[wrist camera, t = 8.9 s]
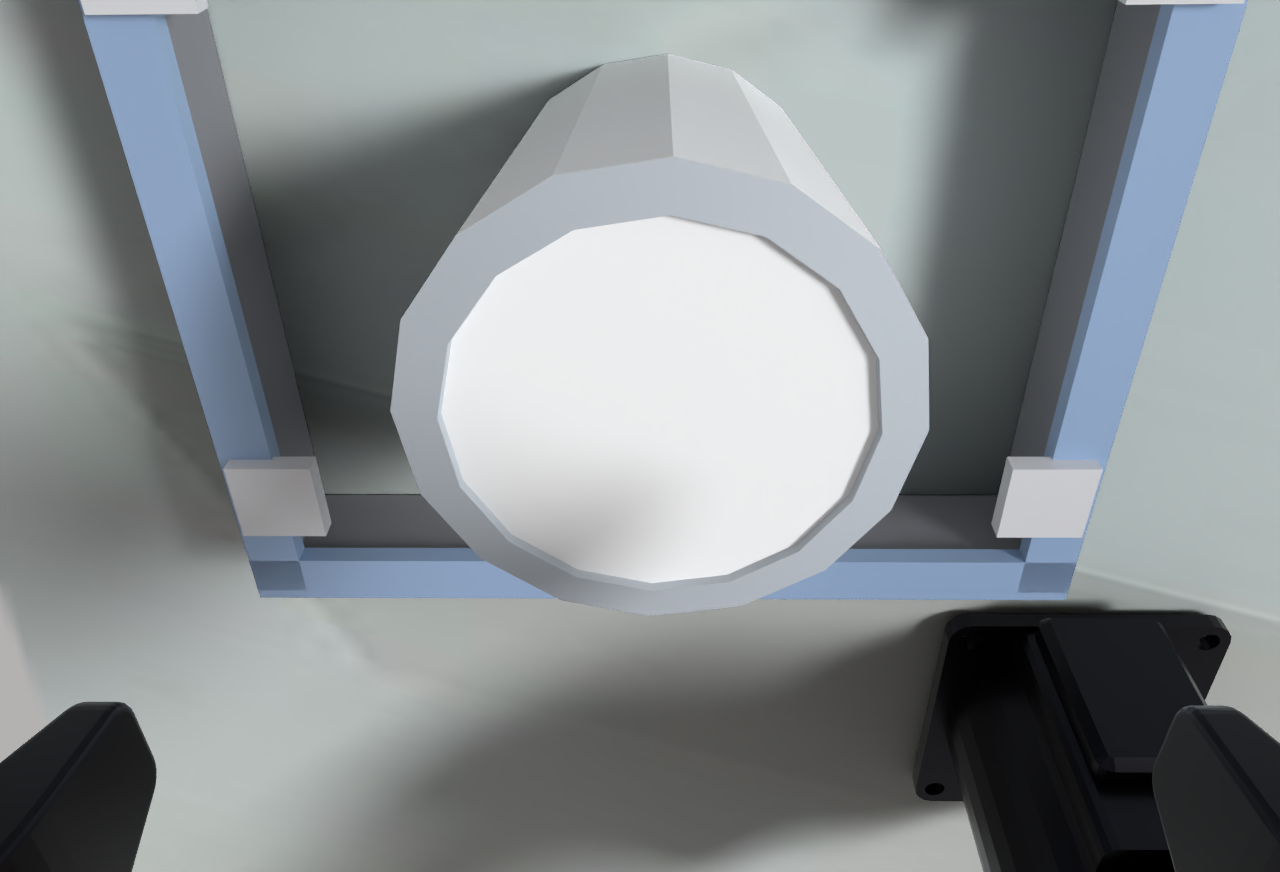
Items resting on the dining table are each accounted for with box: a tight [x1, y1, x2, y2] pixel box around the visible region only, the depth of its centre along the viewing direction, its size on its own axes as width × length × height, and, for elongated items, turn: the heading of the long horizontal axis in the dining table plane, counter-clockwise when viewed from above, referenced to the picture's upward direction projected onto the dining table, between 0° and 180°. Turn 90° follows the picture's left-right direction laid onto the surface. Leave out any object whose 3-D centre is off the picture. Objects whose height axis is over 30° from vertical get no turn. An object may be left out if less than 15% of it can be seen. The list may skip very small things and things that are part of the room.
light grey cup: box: [390, 54, 929, 616], centre depth 16 cm, size 7×7×7 cm
